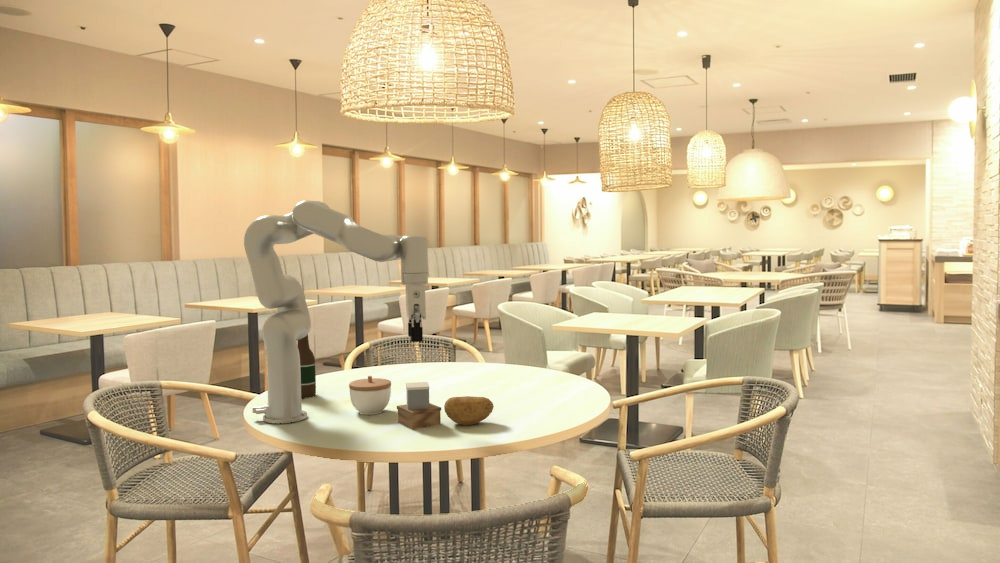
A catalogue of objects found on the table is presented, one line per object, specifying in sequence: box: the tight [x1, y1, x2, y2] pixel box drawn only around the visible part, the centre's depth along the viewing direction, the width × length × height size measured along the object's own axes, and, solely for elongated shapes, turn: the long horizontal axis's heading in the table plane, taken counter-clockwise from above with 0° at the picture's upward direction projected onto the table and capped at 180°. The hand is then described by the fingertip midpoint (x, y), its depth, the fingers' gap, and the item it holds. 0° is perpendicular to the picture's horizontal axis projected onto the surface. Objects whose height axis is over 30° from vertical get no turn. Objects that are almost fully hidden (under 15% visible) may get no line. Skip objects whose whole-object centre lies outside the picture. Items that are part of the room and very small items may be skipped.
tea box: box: [396, 402, 442, 431], centre depth 210 cm, size 9×9×5 cm
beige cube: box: [405, 381, 430, 410], centre depth 210 cm, size 6×6×6 cm
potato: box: [443, 395, 494, 426], centre depth 209 cm, size 10×14×8 cm
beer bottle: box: [297, 333, 317, 399], centre depth 245 cm, size 8×8×24 cm
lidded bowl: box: [348, 375, 392, 416], centre depth 224 cm, size 13×13×11 cm
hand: (415, 338), depth 209 cm, fingers open, 9 cm apart
